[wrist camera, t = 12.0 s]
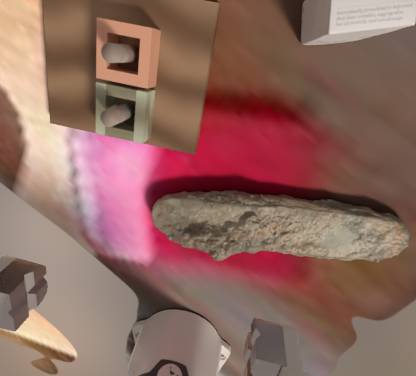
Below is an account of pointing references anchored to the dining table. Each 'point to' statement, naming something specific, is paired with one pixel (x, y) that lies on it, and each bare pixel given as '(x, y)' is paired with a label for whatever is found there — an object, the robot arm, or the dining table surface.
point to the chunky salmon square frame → (147, 53)
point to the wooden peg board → (131, 69)
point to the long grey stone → (278, 226)
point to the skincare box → (353, 19)
